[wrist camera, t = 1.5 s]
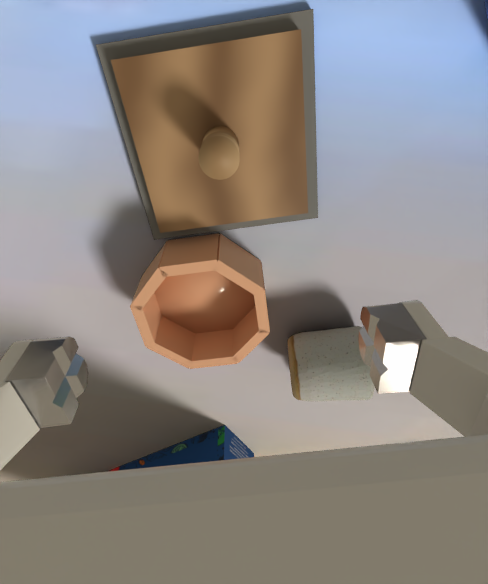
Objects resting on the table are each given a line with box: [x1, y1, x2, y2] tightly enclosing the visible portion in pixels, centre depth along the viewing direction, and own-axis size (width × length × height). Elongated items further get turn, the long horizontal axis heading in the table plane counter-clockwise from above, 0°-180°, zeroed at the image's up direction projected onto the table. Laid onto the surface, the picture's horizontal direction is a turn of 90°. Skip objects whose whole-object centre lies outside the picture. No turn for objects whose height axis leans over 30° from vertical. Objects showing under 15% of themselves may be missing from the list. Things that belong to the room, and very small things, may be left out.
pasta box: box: [107, 425, 254, 472], centre depth 45 cm, size 28×8×28 cm, turn 121°
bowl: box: [130, 233, 270, 369], centre depth 36 cm, size 12×12×5 cm
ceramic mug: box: [287, 326, 374, 401], centre depth 40 cm, size 11×8×8 cm
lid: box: [111, 29, 308, 233], centre depth 27 cm, size 13×13×5 cm
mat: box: [96, 9, 318, 240], centre depth 30 cm, size 15×15×1 cm
